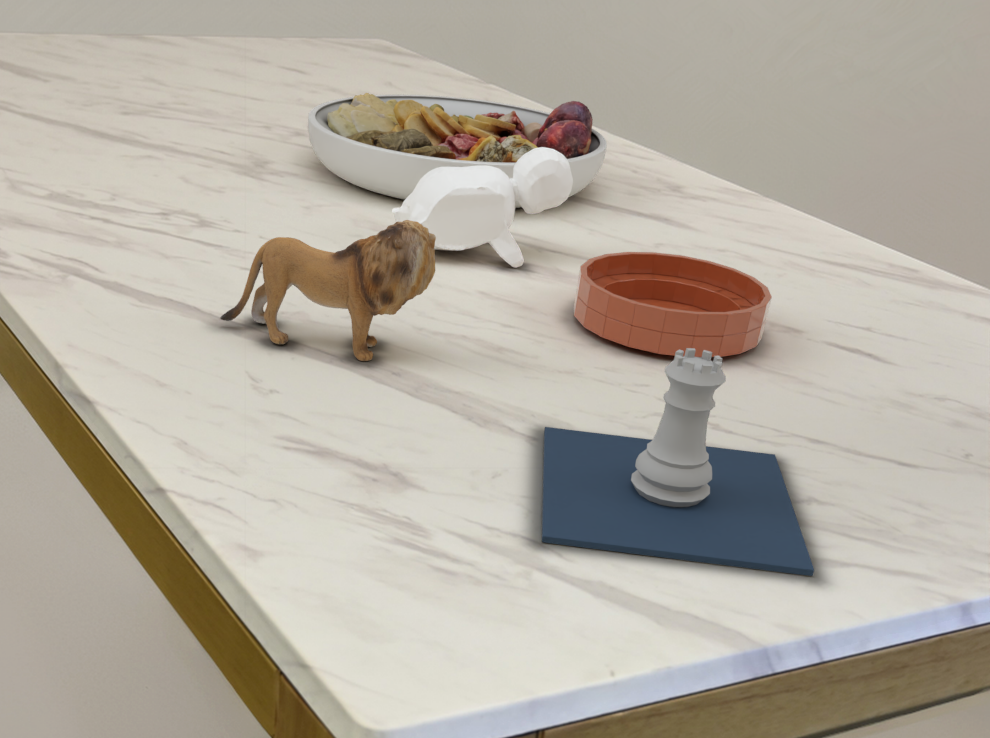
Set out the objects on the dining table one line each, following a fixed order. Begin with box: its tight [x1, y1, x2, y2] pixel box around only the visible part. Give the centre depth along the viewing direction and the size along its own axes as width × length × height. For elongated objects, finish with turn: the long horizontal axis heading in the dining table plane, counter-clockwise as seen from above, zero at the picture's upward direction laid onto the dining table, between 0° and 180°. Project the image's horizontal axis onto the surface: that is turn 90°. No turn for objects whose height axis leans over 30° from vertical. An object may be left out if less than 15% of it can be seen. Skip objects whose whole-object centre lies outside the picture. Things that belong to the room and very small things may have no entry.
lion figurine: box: [219, 220, 436, 362], centre depth 85 cm, size 15×5×9 cm, turn 79°
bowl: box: [307, 92, 608, 209], centre depth 128 cm, size 30×30×8 cm
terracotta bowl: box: [573, 251, 773, 358], centre depth 95 cm, size 14×14×4 cm
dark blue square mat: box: [541, 426, 815, 577], centre depth 71 cm, size 14×14×1 cm
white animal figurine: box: [391, 147, 573, 269], centre depth 106 cm, size 9×8×15 cm
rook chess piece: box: [631, 348, 727, 507], centre depth 69 cm, size 4×4×8 cm
